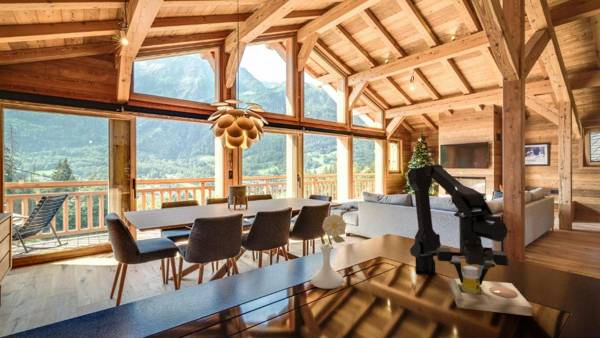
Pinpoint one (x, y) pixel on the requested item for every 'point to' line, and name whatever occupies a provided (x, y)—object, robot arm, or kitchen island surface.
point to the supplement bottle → (470, 280)
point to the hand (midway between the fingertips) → (470, 283)
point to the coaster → (503, 292)
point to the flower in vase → (326, 274)
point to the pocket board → (490, 299)
